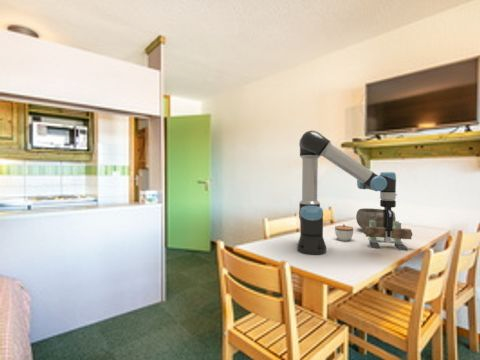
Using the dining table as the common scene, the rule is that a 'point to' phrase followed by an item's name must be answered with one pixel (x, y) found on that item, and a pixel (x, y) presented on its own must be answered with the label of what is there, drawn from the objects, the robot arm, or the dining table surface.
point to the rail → (381, 232)
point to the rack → (394, 240)
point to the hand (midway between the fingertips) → (387, 241)
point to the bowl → (370, 217)
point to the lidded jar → (344, 232)
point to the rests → (398, 245)
